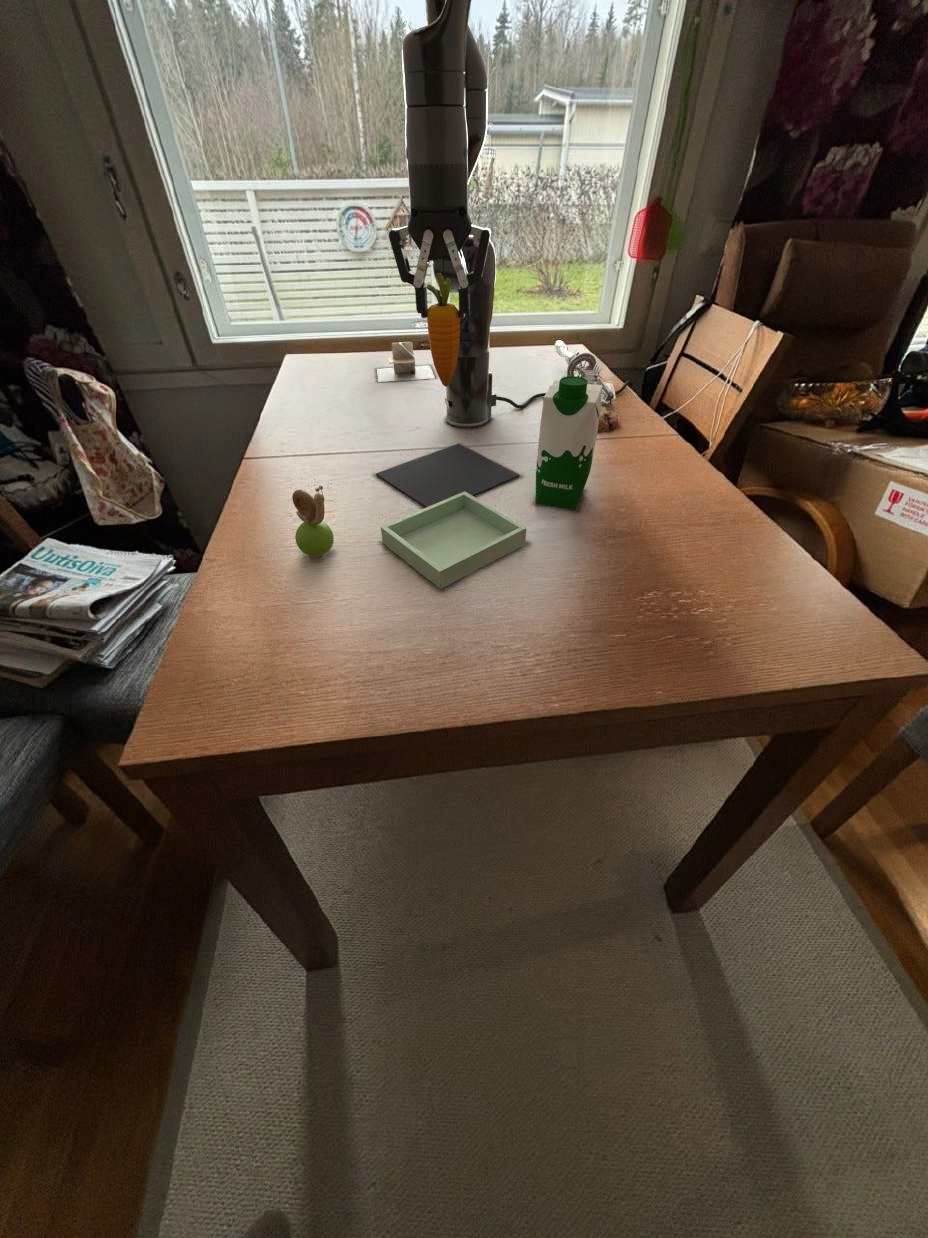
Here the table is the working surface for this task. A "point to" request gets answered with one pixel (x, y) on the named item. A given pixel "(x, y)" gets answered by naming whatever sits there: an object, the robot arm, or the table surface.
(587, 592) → the table surface
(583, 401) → the milk carton
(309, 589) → the table surface
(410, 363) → the architectural model
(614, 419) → the cookie
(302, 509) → the snail figurine
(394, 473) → the mat
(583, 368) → the spaceship
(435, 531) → the tray
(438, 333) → the carrot
